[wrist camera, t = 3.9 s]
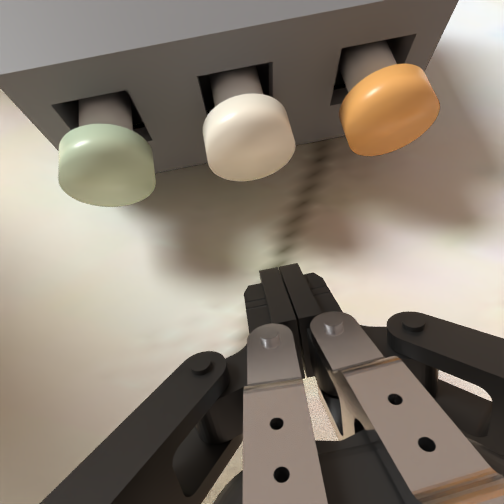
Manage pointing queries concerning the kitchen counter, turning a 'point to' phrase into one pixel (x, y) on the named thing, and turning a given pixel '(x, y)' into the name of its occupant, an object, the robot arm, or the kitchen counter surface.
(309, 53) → the control box
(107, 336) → the kitchen counter surface
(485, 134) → the kitchen counter surface
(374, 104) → the button orange
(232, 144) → the button cream
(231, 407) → the robot arm
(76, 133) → the button green
